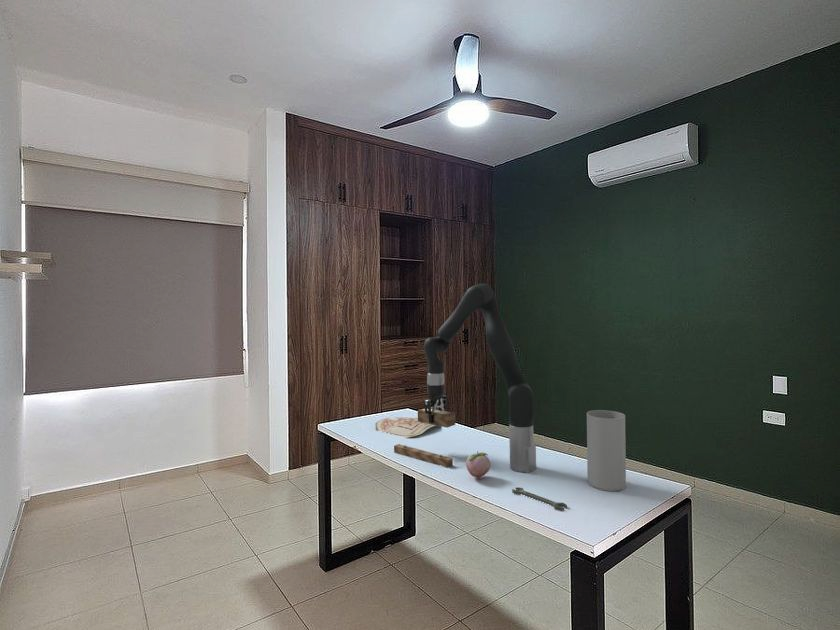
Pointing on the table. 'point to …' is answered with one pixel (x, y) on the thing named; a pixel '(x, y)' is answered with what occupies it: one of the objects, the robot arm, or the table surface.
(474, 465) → the decorative fruit
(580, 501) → the table surface
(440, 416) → the walnut frame
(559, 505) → the wrench
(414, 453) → the walnut rail
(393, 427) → the poster
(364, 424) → the table surface
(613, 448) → the cylinder vase
